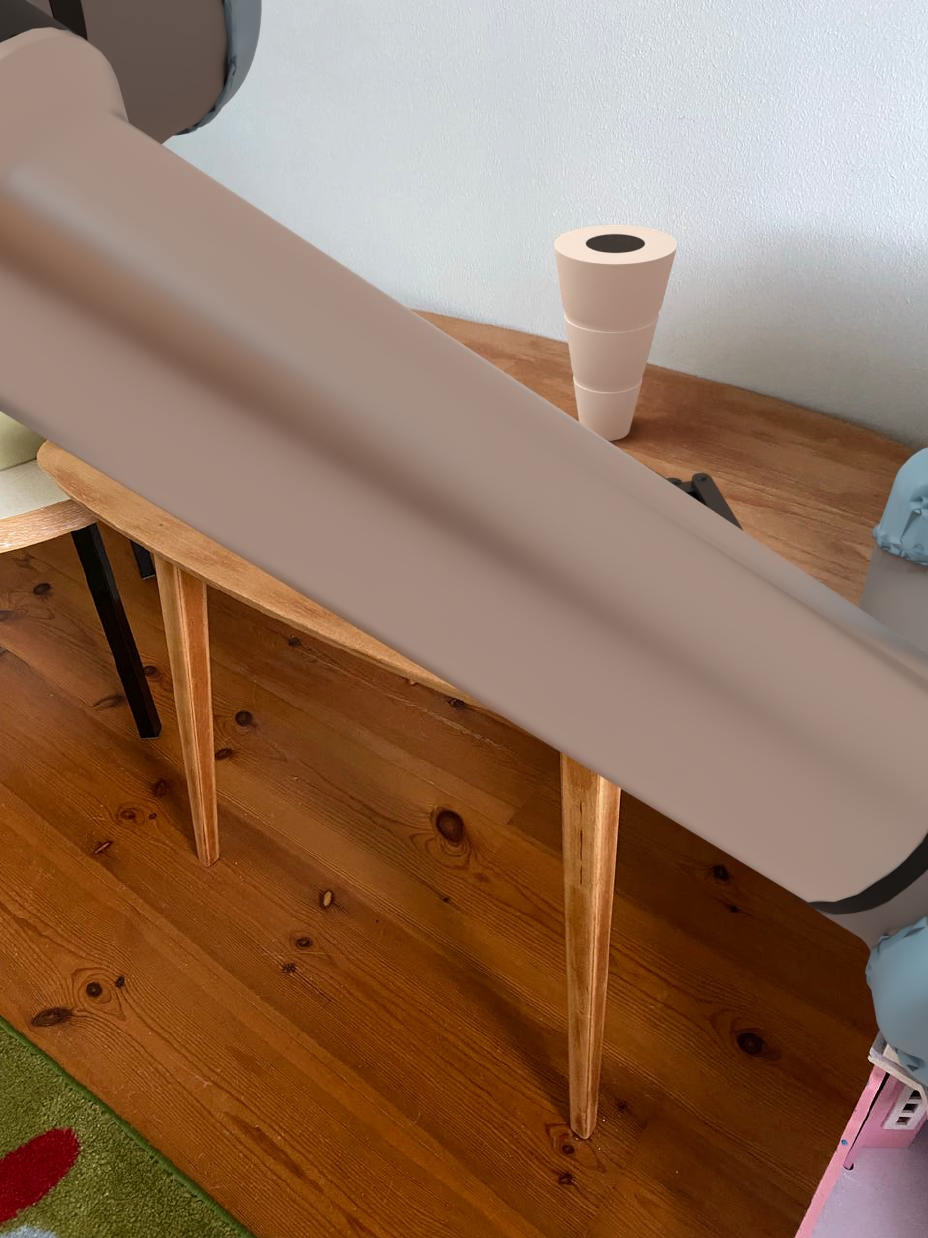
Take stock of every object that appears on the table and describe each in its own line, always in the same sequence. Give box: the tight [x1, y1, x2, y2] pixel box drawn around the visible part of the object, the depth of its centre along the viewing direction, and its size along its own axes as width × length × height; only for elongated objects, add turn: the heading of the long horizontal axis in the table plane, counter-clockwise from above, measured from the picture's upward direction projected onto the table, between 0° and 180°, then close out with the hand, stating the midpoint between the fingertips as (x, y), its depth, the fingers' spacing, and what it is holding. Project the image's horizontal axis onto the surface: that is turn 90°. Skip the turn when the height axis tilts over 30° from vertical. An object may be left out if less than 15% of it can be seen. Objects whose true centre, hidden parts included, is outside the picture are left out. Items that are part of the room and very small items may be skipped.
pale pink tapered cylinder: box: [553, 224, 678, 442], centre depth 91 cm, size 11×11×18 cm
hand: (505, 489), depth 64 cm, fingers open, 13 cm apart
